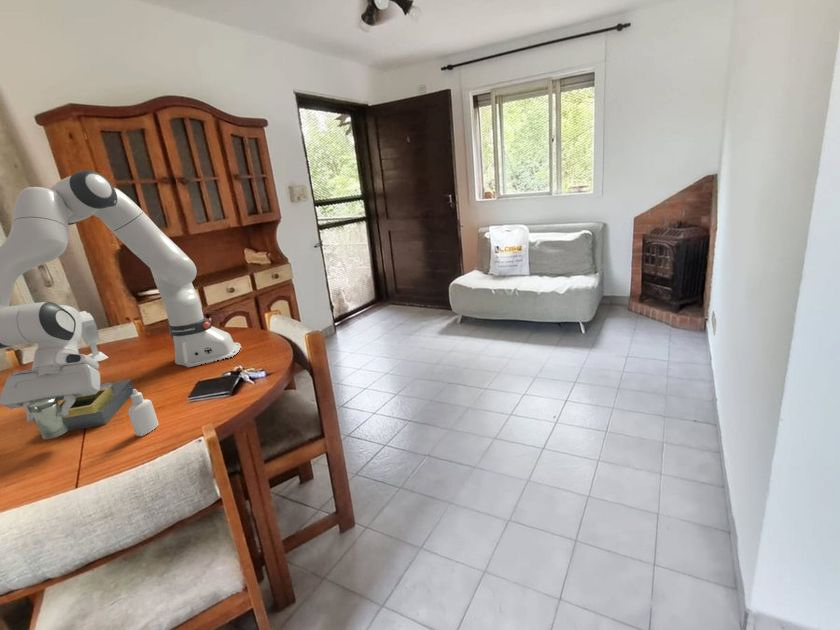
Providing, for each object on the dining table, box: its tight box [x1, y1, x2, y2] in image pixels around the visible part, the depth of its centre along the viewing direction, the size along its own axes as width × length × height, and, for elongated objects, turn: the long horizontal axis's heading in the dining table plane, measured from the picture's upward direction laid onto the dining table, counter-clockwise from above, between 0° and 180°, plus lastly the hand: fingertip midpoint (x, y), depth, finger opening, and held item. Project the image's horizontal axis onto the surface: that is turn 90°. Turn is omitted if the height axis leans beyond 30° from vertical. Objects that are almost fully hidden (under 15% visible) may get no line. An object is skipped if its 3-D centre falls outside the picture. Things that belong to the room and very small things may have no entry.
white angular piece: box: [78, 310, 109, 363], centre depth 162 cm, size 16×5×18 cm, turn 49°
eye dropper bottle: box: [128, 388, 159, 437], centre depth 108 cm, size 4×6×12 cm
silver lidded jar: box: [29, 397, 69, 440], centre depth 102 cm, size 5×7×9 cm
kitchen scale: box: [58, 379, 135, 432], centre depth 121 cm, size 20×14×6 cm
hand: (47, 418), depth 102 cm, fingers closed on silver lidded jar, 5 cm apart
